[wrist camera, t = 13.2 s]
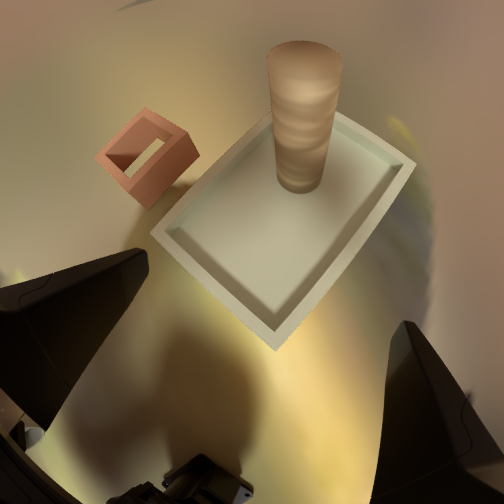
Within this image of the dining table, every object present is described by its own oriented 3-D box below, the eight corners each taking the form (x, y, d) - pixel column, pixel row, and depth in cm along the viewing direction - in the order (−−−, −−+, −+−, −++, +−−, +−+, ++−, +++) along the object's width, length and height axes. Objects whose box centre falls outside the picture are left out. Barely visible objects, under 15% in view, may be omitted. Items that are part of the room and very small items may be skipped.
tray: (277, 348, 21) (275, 351, 19) (161, 241, 25) (149, 232, 22) (407, 177, 23) (416, 164, 21) (296, 106, 27) (295, 90, 25)
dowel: (287, 200, 23) (285, 87, 11) (270, 163, 24) (256, 48, 12) (329, 185, 23) (357, 73, 11) (310, 150, 24) (320, 37, 12)
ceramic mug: (19, 373, 23) (-24, 374, 16) (51, 422, 21) (6, 432, 14) (7, 414, 22) (-29, 418, 15) (35, 457, 20) (-1, 468, 13)
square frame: (148, 210, 26) (127, 192, 22) (113, 175, 28) (94, 157, 24) (200, 155, 27) (187, 132, 23) (159, 128, 29) (145, 107, 25)
